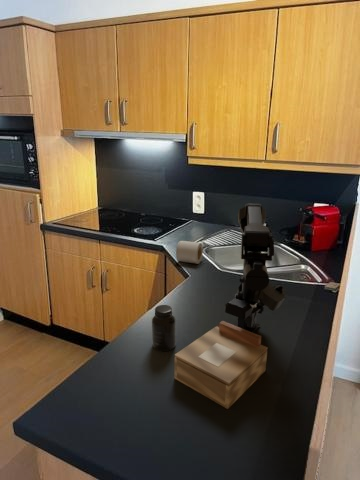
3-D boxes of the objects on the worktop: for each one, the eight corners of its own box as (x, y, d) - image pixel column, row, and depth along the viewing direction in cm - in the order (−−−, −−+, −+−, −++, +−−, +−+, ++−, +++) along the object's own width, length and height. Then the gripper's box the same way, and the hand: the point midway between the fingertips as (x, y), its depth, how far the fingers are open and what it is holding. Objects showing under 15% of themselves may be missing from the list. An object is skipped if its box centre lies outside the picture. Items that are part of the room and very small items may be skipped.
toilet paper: (202, 259, 175) (203, 240, 172) (195, 266, 166) (196, 246, 163) (183, 257, 178) (183, 238, 175) (176, 263, 169) (176, 243, 166)
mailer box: (215, 347, 103) (216, 329, 101) (265, 370, 93) (267, 350, 91) (174, 378, 90) (174, 357, 88) (227, 409, 80) (228, 386, 78)
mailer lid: (216, 328, 101) (216, 318, 100) (267, 349, 91) (268, 339, 90) (174, 356, 88) (174, 345, 87) (229, 385, 78) (229, 373, 77)
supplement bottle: (163, 336, 109) (162, 300, 105) (180, 344, 104) (180, 307, 101) (147, 346, 103) (146, 309, 100) (164, 355, 99) (164, 316, 96)
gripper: (264, 295, 83) (259, 352, 88) (297, 272, 97) (291, 323, 101) (224, 282, 90) (222, 336, 95) (260, 263, 104) (256, 311, 108)
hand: (250, 326), depth 100 cm, fingers closed
